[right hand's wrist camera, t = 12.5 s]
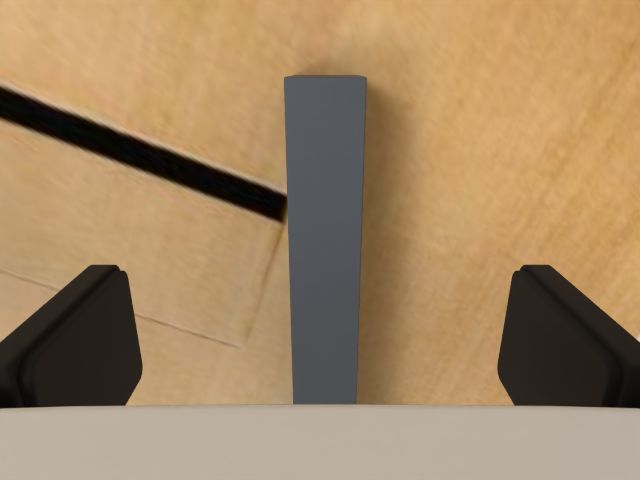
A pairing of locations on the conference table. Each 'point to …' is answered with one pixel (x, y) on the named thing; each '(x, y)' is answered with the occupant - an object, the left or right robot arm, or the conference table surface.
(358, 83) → the bar
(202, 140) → the conference table surface
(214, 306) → the conference table surface
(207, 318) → the conference table surface
